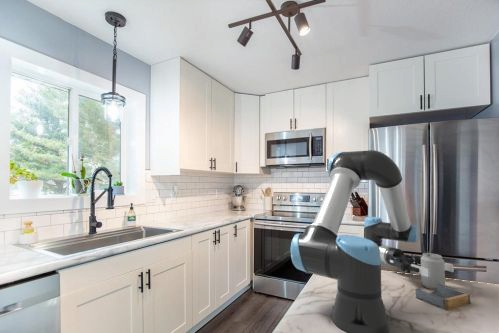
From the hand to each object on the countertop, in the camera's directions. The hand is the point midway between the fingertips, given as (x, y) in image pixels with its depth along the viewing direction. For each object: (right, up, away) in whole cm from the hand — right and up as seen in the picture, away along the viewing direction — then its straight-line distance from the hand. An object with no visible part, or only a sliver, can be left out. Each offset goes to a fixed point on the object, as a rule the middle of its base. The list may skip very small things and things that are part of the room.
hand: (441, 270), depth 99 cm
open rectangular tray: (-6, -6, -9) cm, 13 cm away
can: (-1, -7, +3) cm, 8 cm away
